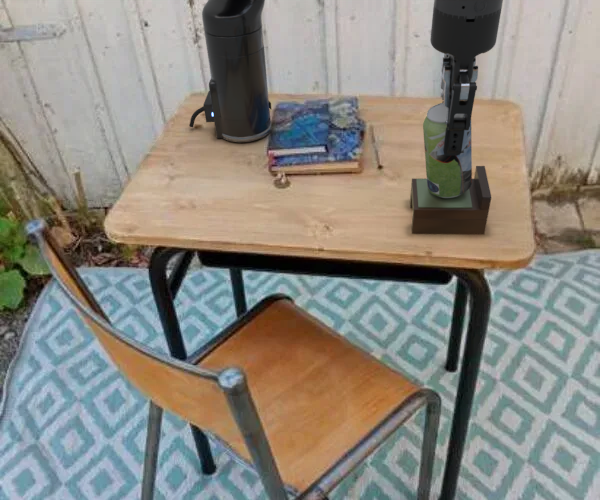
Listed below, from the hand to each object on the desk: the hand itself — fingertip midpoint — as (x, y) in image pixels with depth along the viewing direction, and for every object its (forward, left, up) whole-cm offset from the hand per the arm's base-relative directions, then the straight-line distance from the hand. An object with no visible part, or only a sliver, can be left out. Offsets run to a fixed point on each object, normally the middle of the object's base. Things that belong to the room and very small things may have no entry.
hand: (449, 140), depth 85 cm
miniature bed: (+1, 0, -12) cm, 12 cm away
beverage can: (0, 0, -8) cm, 8 cm away
